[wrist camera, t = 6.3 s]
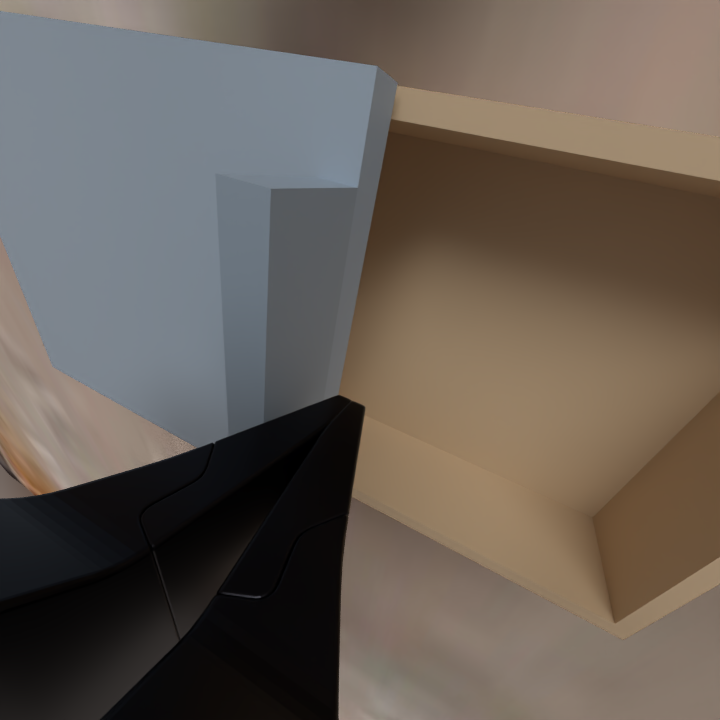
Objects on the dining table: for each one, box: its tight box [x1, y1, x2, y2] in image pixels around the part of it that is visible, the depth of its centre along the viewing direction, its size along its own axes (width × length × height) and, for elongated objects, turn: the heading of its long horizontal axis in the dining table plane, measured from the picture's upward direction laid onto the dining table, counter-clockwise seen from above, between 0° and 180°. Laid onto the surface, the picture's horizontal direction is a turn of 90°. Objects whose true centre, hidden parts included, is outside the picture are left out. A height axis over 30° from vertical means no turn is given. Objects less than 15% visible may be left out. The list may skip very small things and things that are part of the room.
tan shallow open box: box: [338, 86, 720, 640], centre depth 12 cm, size 16×14×5 cm
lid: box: [0, 11, 398, 448], centre depth 11 cm, size 16×14×4 cm
